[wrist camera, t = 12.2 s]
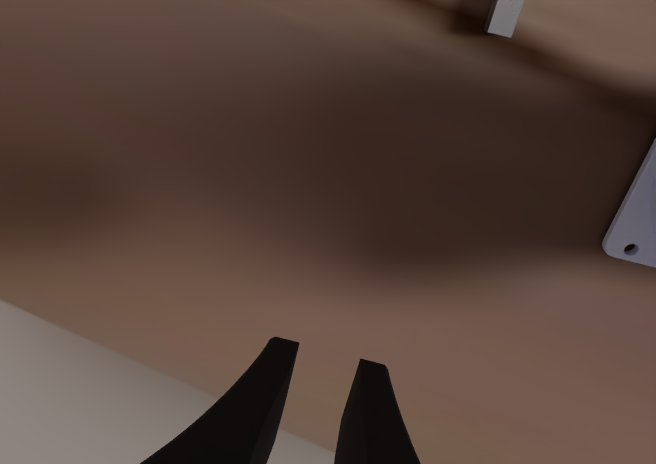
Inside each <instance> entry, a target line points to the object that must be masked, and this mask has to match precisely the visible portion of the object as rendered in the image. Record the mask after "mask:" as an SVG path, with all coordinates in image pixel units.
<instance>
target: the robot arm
mask: <svg viewBox="0 0 656 464" xmlns="http://www.w3.org/2000/svg"><path fill="white" fill-rule="evenodd" d="M629 244H635V246H634V248H633V249H632V250H630V251H624V248H625V247H626V246H627V245H629ZM602 247H603V249H604V250H605V252H606V253H607V254H608V255H609V256H612V257H615V258H619V259H623V260H627V261H631V262H635V263H639V264H643V265H647V266H651V267H655V268H656V138H655V140H654V142H653V144H652V146H651V148H650V150H649V152H648V154H647V156H646V158H645V159H644V161H643V163H642V165H641V167H640V169H639V171H638V173H637V175H636V177H635V179H634V181H633V183H632V185H631V187H630V189H629V191H628V192H627V194H626V196H625V198H624V200H623V202H622V204H621V206H620V208H619V210H618V212H617V214H616V216H615V218H614V220H613V222H612V224H611V225H610V227H609V229H608V231H607V233H606V235H605V237H604V239H603V242H602ZM298 347H299V343H298V342H294V341H291V340H287V339H283V338H279V337H273V338H271V339H270V340H269V342H268V343H267V345H266V347H265V348H264V349H263V351H262V352H261V354H260V355H259V356H258V357H257V359H256V360H255V361H254V362H253V364H252V365H251V366H250V367H249V368H248V370H247V371H246V372H245V373H244V374H243V375H242V376H241V377H240V378H239V379H238V381H237V382H236V383H235V384H234V385H233V386H232V387H231V388H230V389H229V390H228V391H227V392H226V393H225V394H224V395H223V396H222V397H221V398H220V399H219V400H218V401H217V402H216V403H215V404H214V405H213V406H212V407H211V408H210V409H208V410H207V411H206V412H205V413H204V414H203V415H202V416H201V417H200V418H199V419H197V420H196V421H195V422H194V423H193V424H192V425H190V426H189V427H188V428H187V429H186V430H184V431H183V432H182V433H181V434H179V435H178V436H177V437H176V438H175V439H173V440H172V441H170V442H169V443H168V444H166V445H165V446H164V447H162V448H161V449H160V450H158V451H157V452H155V453H154V454H153V455H151V456H150V457H149V458H147V459H146V460H144V461H143V462H142V463H140V464H266V463H267V460H268V458H269V455H270V453H271V450H272V447H273V445H274V442H275V438H276V434H277V431H278V427H279V424H280V420H281V416H282V412H283V409H284V405H285V401H286V397H287V393H288V389H289V384H290V380H291V376H292V372H293V368H294V363H295V359H296V355H297V351H298ZM334 464H420V461H419V459H418V457H417V455H416V452H415V450H414V447H413V445H412V443H411V440H410V437H409V435H408V432H407V429H406V427H405V424H404V422H403V419H402V416H401V413H400V410H399V407H398V404H397V401H396V398H395V395H394V391H393V388H392V384H391V380H390V377H389V372H388V369H387V367H386V366H385V365H383V364H379V363H376V362H372V361H368V360H364V359H360V362H359V365H358V368H357V371H356V374H355V378H354V381H353V384H352V387H351V390H350V393H349V397H348V400H347V403H346V406H345V409H344V413H343V416H342V419H341V425H340V431H339V436H338V442H337V448H336V454H335V461H334Z"/></svg>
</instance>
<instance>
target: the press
mask: <svg viewBox="0 0 656 464" xmlns="http://www.w3.org/2000/svg"><path fill="white" fill-rule="evenodd" d="M523 2H524V0H493V1H492V4H491V7H490V10H489V13H488V16H487V19H486V23H485V26H484V29H483V30H484V31H486V32H489V33H493V34H497V35H502V36H506V37H511V36H512V34H513V31H514V28H515V25H516V22H517V19H518V16H519V13H520V10H521V7H522V5H523Z"/></svg>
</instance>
